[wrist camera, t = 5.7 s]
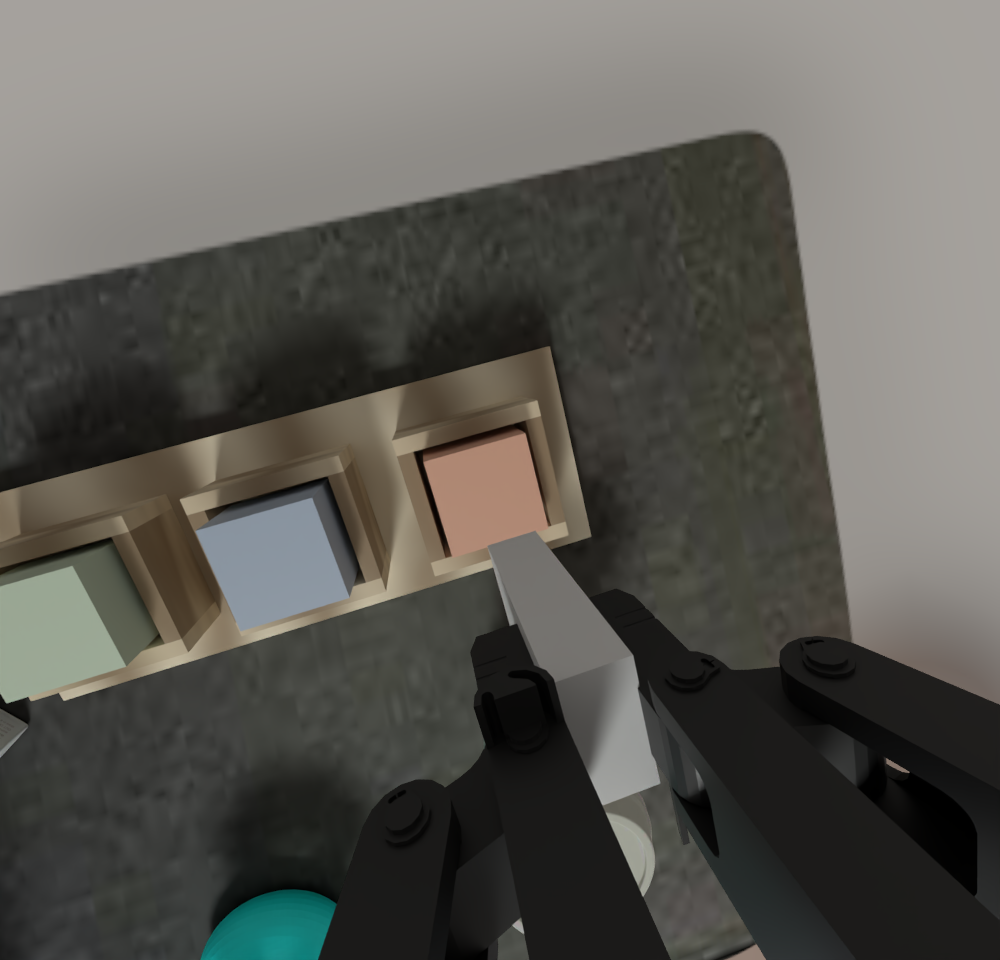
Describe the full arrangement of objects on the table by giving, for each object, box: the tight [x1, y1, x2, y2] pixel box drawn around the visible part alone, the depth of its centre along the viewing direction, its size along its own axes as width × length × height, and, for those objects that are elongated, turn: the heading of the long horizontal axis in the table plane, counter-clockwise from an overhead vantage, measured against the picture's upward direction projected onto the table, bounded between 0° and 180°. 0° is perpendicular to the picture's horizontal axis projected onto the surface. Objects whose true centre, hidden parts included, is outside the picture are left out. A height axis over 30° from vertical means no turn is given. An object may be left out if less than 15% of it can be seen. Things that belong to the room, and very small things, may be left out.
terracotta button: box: [423, 424, 549, 558], centre depth 25 cm, size 5×5×4 cm
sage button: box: [0, 539, 159, 703], centre depth 22 cm, size 5×5×4 cm
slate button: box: [195, 478, 360, 631], centre depth 23 cm, size 5×5×4 cm
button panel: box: [0, 346, 591, 701], centre depth 26 cm, size 32×12×5 cm, turn 104°
